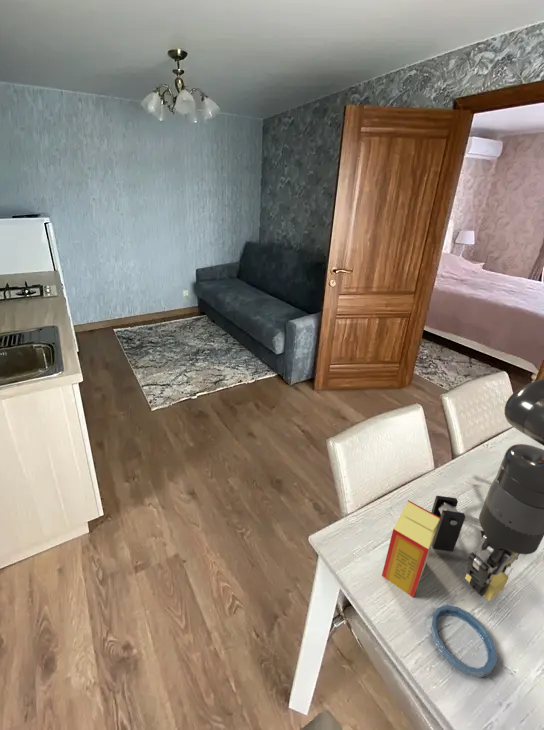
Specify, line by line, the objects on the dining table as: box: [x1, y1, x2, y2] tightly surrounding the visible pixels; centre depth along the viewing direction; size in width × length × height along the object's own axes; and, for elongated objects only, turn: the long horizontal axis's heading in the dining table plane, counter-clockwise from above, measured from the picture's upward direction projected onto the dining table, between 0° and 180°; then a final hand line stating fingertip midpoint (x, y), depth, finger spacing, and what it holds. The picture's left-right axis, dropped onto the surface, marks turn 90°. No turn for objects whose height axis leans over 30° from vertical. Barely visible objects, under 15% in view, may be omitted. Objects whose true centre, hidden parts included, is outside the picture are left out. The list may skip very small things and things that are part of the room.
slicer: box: [430, 495, 465, 553], centre depth 81 cm, size 10×8×13 cm
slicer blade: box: [439, 502, 482, 528], centre depth 79 cm, size 13×6×2 cm, turn 80°
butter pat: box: [465, 572, 510, 602], centre depth 58 cm, size 4×4×3 cm
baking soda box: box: [381, 500, 440, 598], centre depth 74 cm, size 10×6×16 cm
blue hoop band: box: [429, 604, 498, 679], centre depth 64 cm, size 10×10×3 cm
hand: (484, 583), depth 58 cm, fingers closed on butter pat, 4 cm apart
